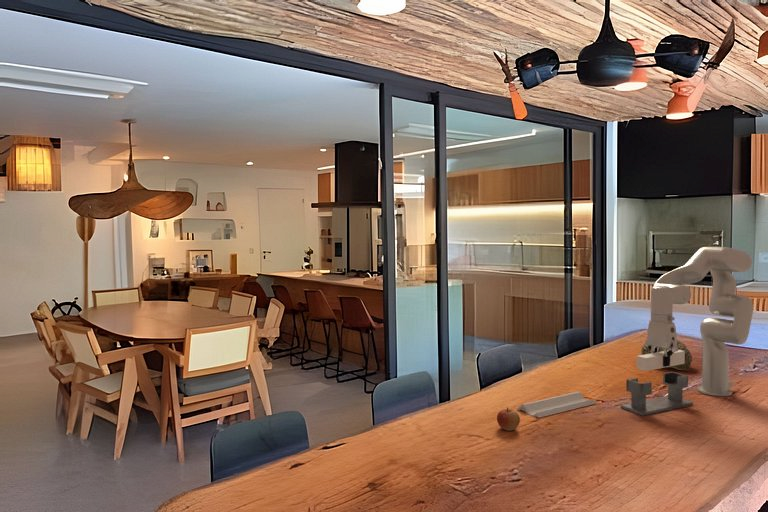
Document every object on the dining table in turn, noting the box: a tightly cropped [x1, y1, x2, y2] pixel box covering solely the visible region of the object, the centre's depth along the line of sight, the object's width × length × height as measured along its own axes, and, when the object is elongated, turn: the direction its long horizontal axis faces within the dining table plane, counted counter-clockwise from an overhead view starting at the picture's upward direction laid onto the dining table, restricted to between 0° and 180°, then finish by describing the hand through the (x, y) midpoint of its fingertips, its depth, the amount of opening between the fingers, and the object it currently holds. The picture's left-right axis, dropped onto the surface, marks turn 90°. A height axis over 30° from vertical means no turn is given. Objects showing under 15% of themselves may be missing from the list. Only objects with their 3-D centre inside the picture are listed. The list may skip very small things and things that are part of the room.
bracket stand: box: [620, 371, 694, 417], centre depth 216 cm, size 28×10×12 cm, turn 114°
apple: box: [496, 407, 521, 432], centre depth 194 cm, size 8×8×8 cm
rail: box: [636, 350, 685, 372], centre depth 214 cm, size 22×4×5 cm, turn 116°
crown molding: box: [516, 391, 597, 419], centre depth 218 cm, size 31×12×4 cm, turn 120°
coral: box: [641, 339, 693, 371], centre depth 277 cm, size 23×18×15 cm
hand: (660, 364), depth 215 cm, fingers closed on rail, 4 cm apart
